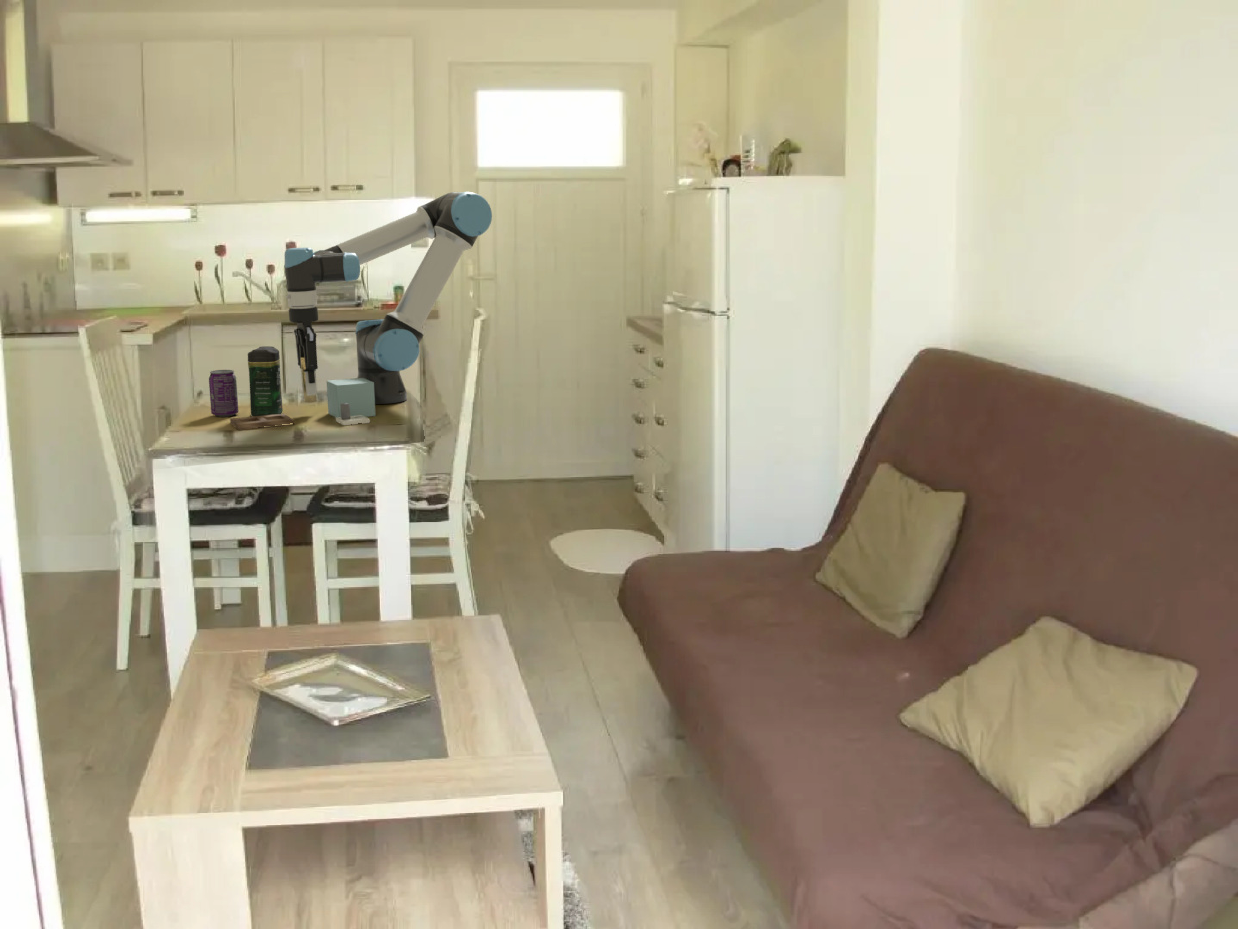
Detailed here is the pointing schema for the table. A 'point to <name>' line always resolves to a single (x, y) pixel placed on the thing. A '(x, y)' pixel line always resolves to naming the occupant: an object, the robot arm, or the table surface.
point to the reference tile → (348, 419)
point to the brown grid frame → (260, 421)
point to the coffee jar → (265, 381)
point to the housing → (351, 396)
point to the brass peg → (306, 398)
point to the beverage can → (223, 393)
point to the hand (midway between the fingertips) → (310, 393)
